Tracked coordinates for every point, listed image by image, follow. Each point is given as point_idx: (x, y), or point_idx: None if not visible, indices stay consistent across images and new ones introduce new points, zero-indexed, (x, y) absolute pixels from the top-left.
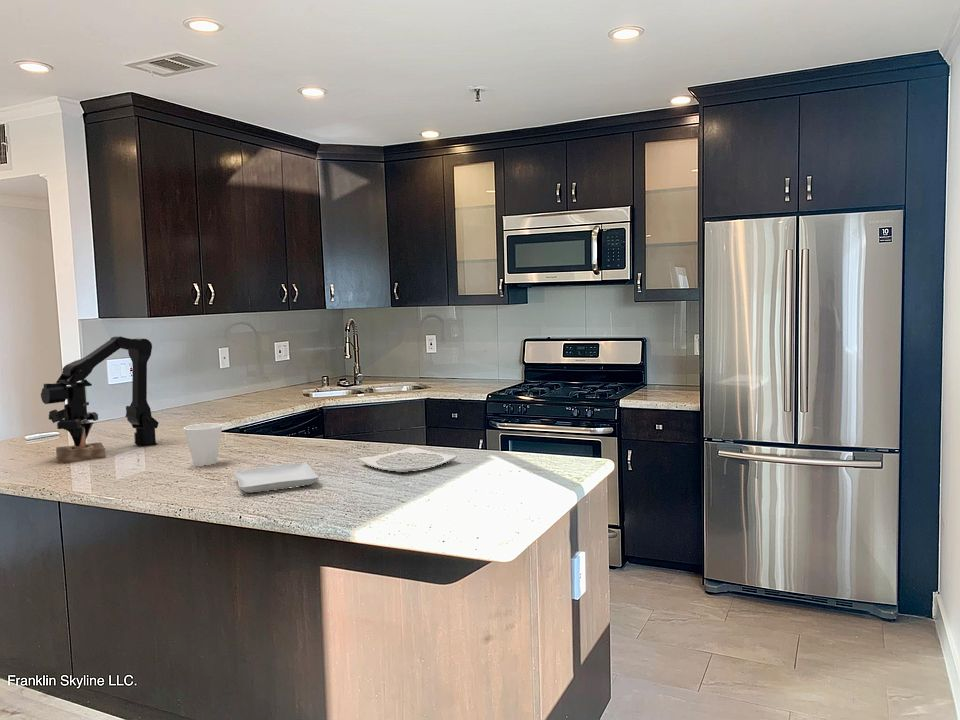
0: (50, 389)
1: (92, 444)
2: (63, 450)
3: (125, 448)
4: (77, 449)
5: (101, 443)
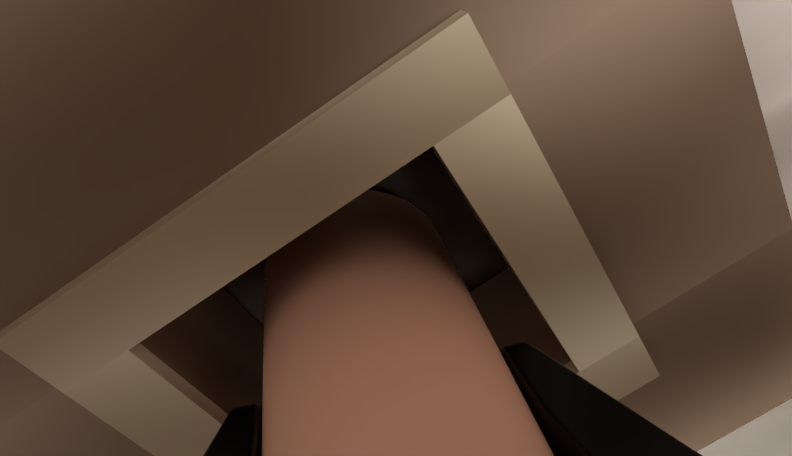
0: None
1: (679, 358)
2: (65, 163)
3: (783, 443)
4: (148, 442)
5: (716, 436)
